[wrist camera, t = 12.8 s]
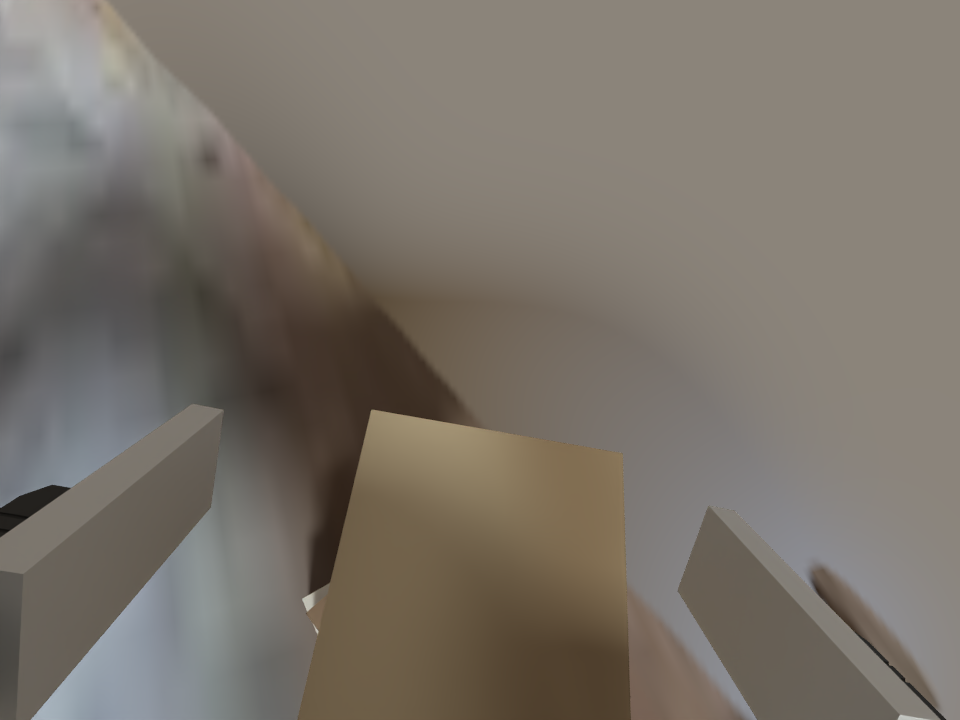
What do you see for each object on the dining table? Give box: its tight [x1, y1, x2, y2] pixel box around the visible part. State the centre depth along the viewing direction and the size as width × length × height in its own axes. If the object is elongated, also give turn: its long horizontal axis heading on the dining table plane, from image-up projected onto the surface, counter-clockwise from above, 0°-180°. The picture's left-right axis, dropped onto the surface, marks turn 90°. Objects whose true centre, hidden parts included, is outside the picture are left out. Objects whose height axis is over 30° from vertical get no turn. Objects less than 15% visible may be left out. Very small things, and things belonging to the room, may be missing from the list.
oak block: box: [298, 409, 631, 720], centre depth 14 cm, size 5×5×11 cm
